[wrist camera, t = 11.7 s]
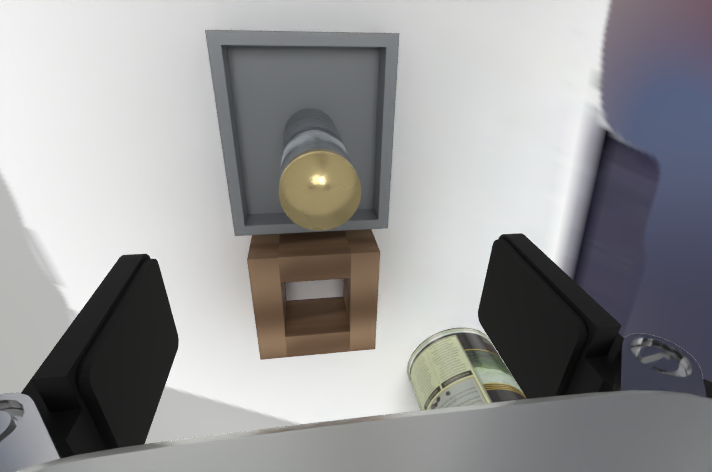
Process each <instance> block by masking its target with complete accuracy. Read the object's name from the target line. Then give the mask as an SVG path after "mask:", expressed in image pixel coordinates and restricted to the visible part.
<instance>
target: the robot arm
mask: <svg viewBox="0 0 712 472" xmlns="http://www.w3.org/2000/svg"><path fill="white" fill-rule="evenodd" d="M478 318H479V322H480V324H481V325H482V327H483V329H484V330H485V332H486V334H487V335H488V337H489V338H490V340H491V342H492V343H493V345H494V347H495V348H496V350H497V351H498V353H499V355H500V356H501V358H502V359H503V361H504V363H505V364H506V366H507V368H508V369H509V371H510V372H511V374H512V376H513V377H514V379H515V381H516V382H517V384H518V385H519V387H520V389H521V390H522V392H523V394H524V395H525V397H526V398H527V399H522V400H513V401H504V402H495V403H485V404H476V405H467V406H458V407H449V408H440V409H431V410H422V411H413V412H405V413H396V414H387V415H378V416H370V417H361V418H352V419H344V420H335V421H327V422H318V423H309V424H301V425H293V426H285V427H276V428H268V429H260V430H251V431H244V432H235V433H227V434H218V435H210V436H202V437H194V438H187V439H179V440H172V441H165V442H157V443H150V444H145V441H146V438H147V435H148V432H149V429H150V426H151V424H152V421H153V418H154V415H155V412H156V409H157V406H158V403H159V401H160V398H161V395H162V392H163V389H164V387H165V384H166V381H167V378H168V375H169V372H170V369H171V367H172V364H173V361H174V358H175V355H176V352H177V349H178V334H177V330H176V326H175V323H174V319H173V315H172V312H171V308H170V304H169V301H168V297H167V293H166V290H165V286H164V282H163V279H162V275H161V271H160V268H159V264H158V261H157V260H156V259H150V257H149V255H147V254H135V255H122V256H121V257H120V258H119V259H118V261H117V262H116V264H115V265H114V266H113V268H112V269H111V270H110V272H109V273H108V275H107V276H106V277H105V279H104V280H103V281H102V283H101V284H100V286H99V287H98V288H97V290H96V291H95V292H94V294H93V295H92V297H91V298H90V299H89V301H88V302H87V303H86V305H85V306H84V307H83V309H82V310H81V312H80V313H79V314H78V315H77V317H76V318H75V320H74V321H73V322H72V324H71V325H70V326H69V328H68V329H67V331H66V332H65V333H64V335H63V336H62V338H61V339H60V340H59V342H58V343H57V344H56V346H55V347H54V349H53V350H52V351H51V353H50V354H49V356H48V357H47V358H46V359H45V361H44V362H43V364H42V365H41V366H40V368H39V369H38V370H37V372H36V373H35V374H34V376H33V377H32V379H31V380H30V381H29V383H28V384H27V386H26V387H25V388H24V390H23V391H22V392H21V393H5V394H1V395H0V472H712V382H710V381H707V380H705V379H703V376H702V371H701V368H700V366H699V364H698V362H697V361H696V360H695V359H694V358H693V357H692V356H691V355H690V354H689V353H687V352H686V351H685V350H684V349H682V348H681V347H679V346H677V345H676V344H674V343H672V342H670V341H668V340H665V339H663V338H660V337H657V336H653V335H649V334H640V333H636V334H631V335H628V336H627V337H625V338H623V337H622V336H621V335H620V334H619V333H618V332H619V330H620V327H621V325H620V324H619V323H618V322H617V321H616V320H615V319H614V318H613V317H612V316H611V315H610V314H609V313H608V312H606V311H605V310H604V309H603V308H602V307H601V306H600V305H599V304H598V303H597V302H596V301H595V300H594V299H593V298H591V297H590V296H589V295H588V294H587V293H586V292H585V291H584V290H583V289H582V288H581V287H580V286H579V285H577V284H576V283H575V282H574V281H573V280H572V279H571V278H570V277H569V276H568V275H567V274H566V273H565V272H564V271H562V270H561V269H560V268H559V267H558V266H557V265H556V264H555V263H554V262H553V261H552V260H551V259H550V258H548V257H547V256H546V255H545V254H544V253H543V252H542V251H541V250H540V249H539V248H538V247H537V246H536V245H535V244H533V243H532V242H531V241H530V240H529V239H528V238H527V237H526V236H525V235H523V234H503V235H501V236H500V237H499V239H498V240H495V241H494V243H493V246H492V251H491V255H490V260H489V264H488V269H487V274H486V278H485V283H484V287H483V292H482V296H481V301H480V305H479V310H478Z"/></svg>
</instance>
